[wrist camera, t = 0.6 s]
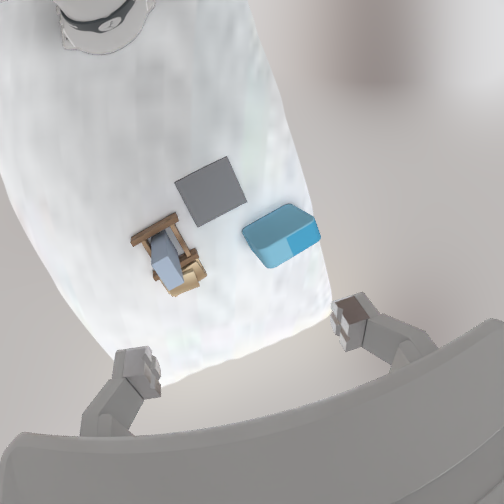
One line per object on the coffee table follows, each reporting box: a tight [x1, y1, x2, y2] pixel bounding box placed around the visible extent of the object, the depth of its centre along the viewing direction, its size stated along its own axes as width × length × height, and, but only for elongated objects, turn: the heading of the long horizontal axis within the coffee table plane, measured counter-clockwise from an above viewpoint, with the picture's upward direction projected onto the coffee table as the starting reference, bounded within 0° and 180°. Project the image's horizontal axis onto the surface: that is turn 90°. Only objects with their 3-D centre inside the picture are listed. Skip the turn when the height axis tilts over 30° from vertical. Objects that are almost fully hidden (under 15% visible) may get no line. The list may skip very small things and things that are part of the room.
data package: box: [242, 204, 321, 268], centre depth 57 cm, size 12×4×12 cm, turn 115°
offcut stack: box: [159, 259, 207, 297], centre depth 58 cm, size 5×9×4 cm, turn 113°
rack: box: [130, 213, 199, 281], centre depth 55 cm, size 10×10×3 cm
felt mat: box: [175, 157, 247, 227], centre depth 55 cm, size 10×11×1 cm
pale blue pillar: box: [151, 230, 184, 291], centre depth 51 cm, size 6×3×13 cm, turn 23°
